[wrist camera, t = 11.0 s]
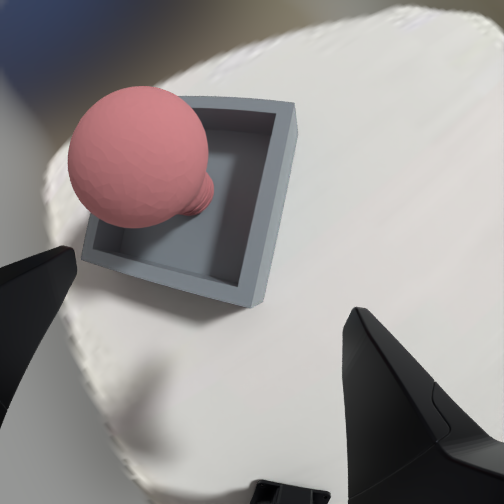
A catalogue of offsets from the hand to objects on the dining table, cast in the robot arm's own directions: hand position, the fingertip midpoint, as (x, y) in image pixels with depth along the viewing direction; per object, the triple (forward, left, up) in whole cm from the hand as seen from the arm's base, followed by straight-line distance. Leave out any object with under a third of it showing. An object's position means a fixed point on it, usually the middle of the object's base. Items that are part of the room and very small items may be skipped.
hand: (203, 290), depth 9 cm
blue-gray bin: (+5, +6, -13) cm, 15 cm away
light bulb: (+5, +6, -12) cm, 14 cm away
